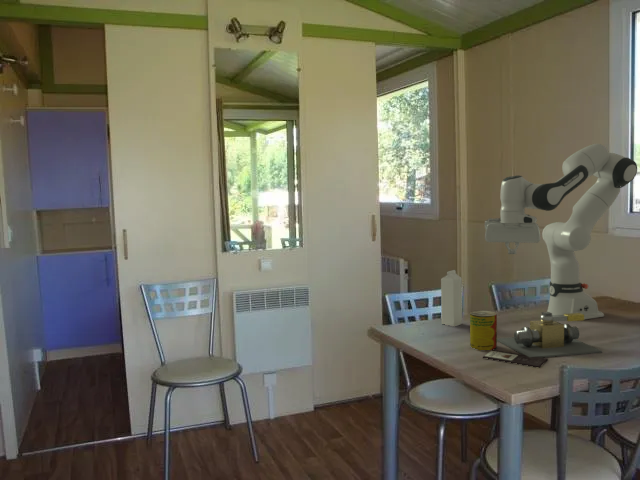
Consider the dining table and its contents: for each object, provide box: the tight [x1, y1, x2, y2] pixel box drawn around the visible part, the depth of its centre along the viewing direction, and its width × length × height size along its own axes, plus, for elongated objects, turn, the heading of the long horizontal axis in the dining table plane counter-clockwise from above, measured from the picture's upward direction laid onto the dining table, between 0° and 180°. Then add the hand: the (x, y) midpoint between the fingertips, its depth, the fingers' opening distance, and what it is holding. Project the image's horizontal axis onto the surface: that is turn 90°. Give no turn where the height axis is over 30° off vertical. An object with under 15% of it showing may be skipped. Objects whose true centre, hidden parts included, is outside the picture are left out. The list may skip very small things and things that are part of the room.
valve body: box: [513, 319, 580, 348], centre depth 201 cm, size 22×8×8 cm, turn 100°
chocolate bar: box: [482, 349, 548, 368], centre depth 188 cm, size 9×1×18 cm
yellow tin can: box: [469, 309, 498, 351], centre depth 202 cm, size 9×9×12 cm
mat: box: [497, 336, 603, 358], centre depth 201 cm, size 26×23×1 cm
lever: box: [540, 311, 585, 323], centre depth 201 cm, size 15×4×3 cm, turn 98°
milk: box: [440, 269, 463, 327], centre depth 234 cm, size 6×6×22 cm
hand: (512, 254), depth 224 cm, fingers closed
